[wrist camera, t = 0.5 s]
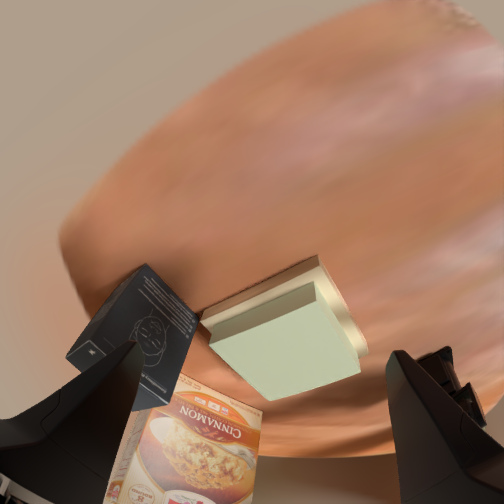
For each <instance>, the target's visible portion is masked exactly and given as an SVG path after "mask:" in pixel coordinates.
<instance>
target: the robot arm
mask: <svg viewBox="0 0 504 504" xmlns="http://www.w3.org/2000/svg"><path fill="white" fill-rule="evenodd" d="M144 363H145V356H144V353H143V351H142V348H141V346H140V344H139V342H138V341H134V340H127V341H125V342H124V343H123V344H121V345H120V346H118V347H117V348H116V349H114V350H113V351H111V352H110V353H109V354H107V355H106V356H105V357H103V358H102V359H100V360H99V361H98V362H96V363H95V364H93V365H92V366H91V367H89V368H88V369H86V370H85V371H84V372H82V373H81V374H80V375H78V376H77V377H75V378H74V379H73V380H71V381H70V382H68V383H67V384H66V385H64V386H63V387H62V388H61V389H59V390H57V391H56V392H54V393H53V394H52V395H50V396H49V397H47V398H46V399H44V400H43V401H41V402H39V403H38V404H36V405H34V406H33V407H31V408H29V409H27V410H26V411H24V412H22V413H20V414H19V415H17V416H15V417H13V418H10V419H3V420H2V419H0V504H103V500H104V497H105V493H106V489H107V486H108V481H109V478H110V475H111V471H112V468H113V465H114V462H115V458H116V455H117V452H118V449H119V446H120V442H121V439H122V436H123V433H124V430H125V427H126V424H127V421H128V418H129V415H130V413H131V410H132V407H133V404H134V401H135V398H136V395H137V391H138V387H139V383H140V379H141V375H142V371H143V367H144ZM386 381H387V393H388V405H389V413H390V418H391V424H392V430H393V436H394V443H395V450H396V457H397V465H398V474H399V483H400V496H401V504H504V448H503V447H502V446H501V445H500V444H499V443H498V442H497V441H495V440H494V439H493V438H492V437H491V436H490V435H488V434H487V433H486V432H485V431H484V430H483V429H482V428H483V427H485V426H486V425H487V423H486V420H485V416H484V413H483V409H482V406H481V403H480V401H479V399H478V396H477V394H476V392H475V390H474V389H473V387H472V385H471V384H470V382H469V383H467V384H466V385H465V386H464V387H463V388H462V387H461V385H460V382H459V380H458V378H457V375H456V373H455V371H454V367H453V356H452V349H451V347H447V348H445V349H443V350H441V351H439V352H437V353H436V354H434V355H432V356H430V357H428V358H426V359H424V360H422V361H420V362H418V363H417V362H416V361H415V360H414V359H413V358H412V357H411V356H410V355H409V354H408V353H407V352H406V351H404V350H394V351H393V352H392V353H391V355H390V358H389V360H388V362H387V365H386ZM470 401H472V402H471V403H470Z"/></svg>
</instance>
